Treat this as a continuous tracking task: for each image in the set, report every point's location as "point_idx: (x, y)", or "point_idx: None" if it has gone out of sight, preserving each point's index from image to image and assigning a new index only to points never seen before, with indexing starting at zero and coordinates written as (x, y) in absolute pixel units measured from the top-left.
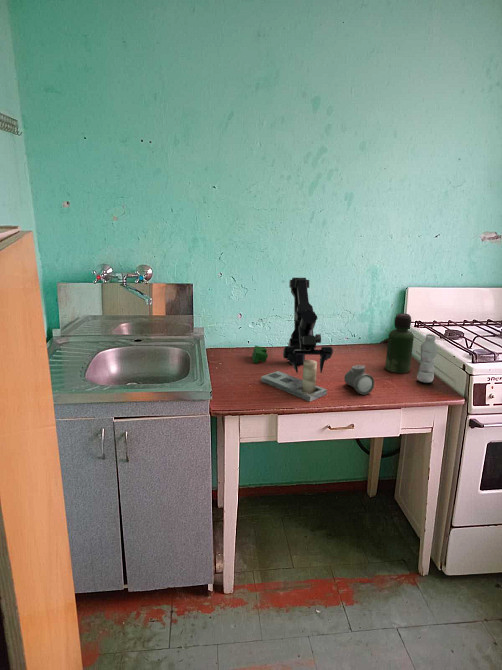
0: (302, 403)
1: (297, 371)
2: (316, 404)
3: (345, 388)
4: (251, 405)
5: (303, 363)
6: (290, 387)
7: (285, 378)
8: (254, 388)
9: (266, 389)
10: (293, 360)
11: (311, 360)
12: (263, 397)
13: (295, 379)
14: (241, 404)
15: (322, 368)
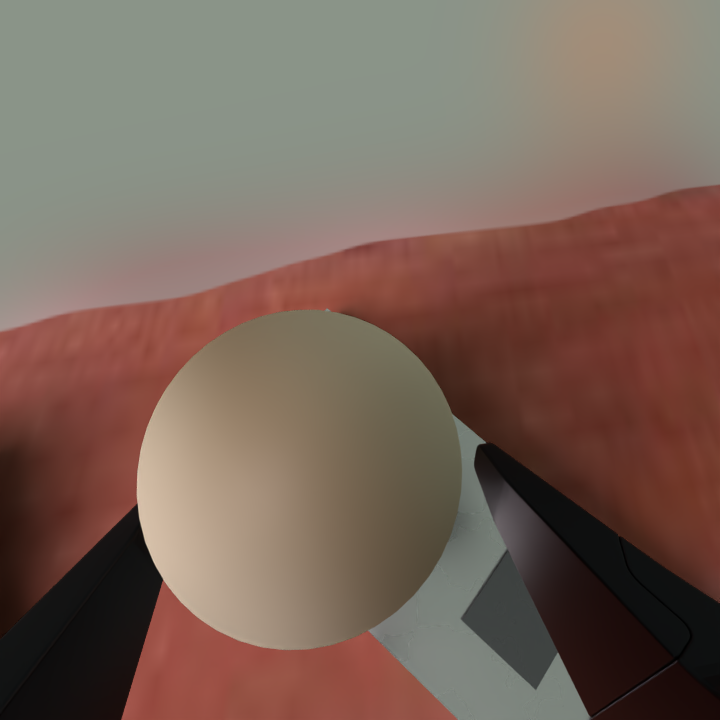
0: (373, 293)
1: (483, 445)
2: (291, 290)
3: (28, 601)
4: (641, 238)
5: (448, 446)
6: (472, 452)
7: (539, 659)
8: (704, 480)
9: (622, 476)
10: (693, 593)
11: (261, 607)
12: (607, 345)
13: (447, 653)
14: (694, 244)
15: (104, 537)
